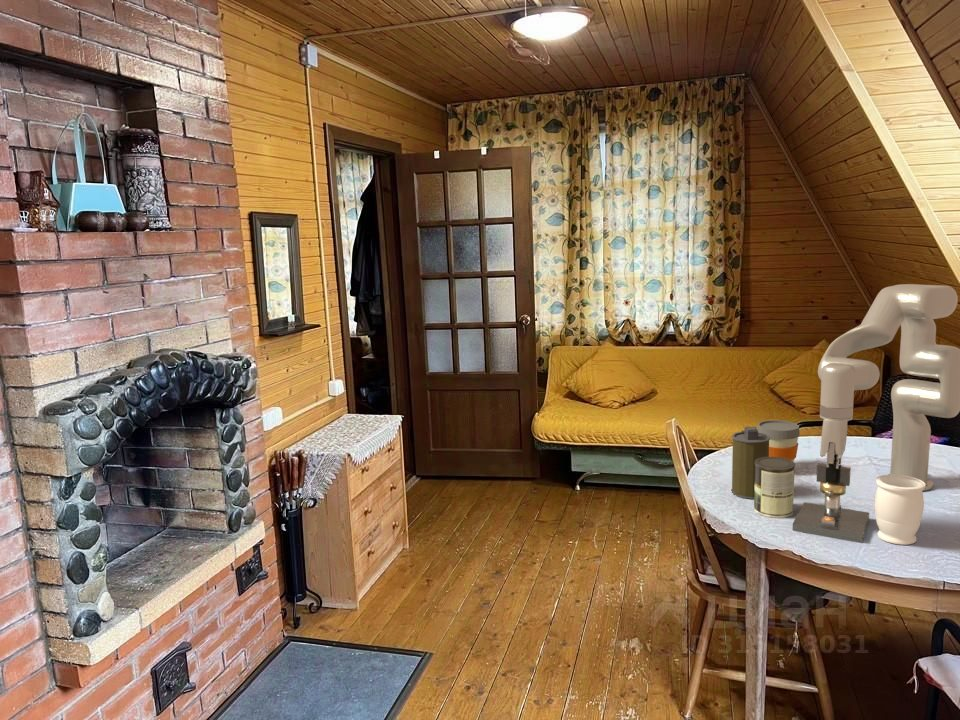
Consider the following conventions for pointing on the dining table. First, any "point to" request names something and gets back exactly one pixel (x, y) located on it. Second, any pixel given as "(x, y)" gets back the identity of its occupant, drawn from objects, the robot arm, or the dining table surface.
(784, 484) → the coffee can
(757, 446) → the canister
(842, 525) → the lever latch plate
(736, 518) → the dining table surface
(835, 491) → the latch lever
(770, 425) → the reusable coffee cup
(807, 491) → the dining table surface
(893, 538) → the jar
